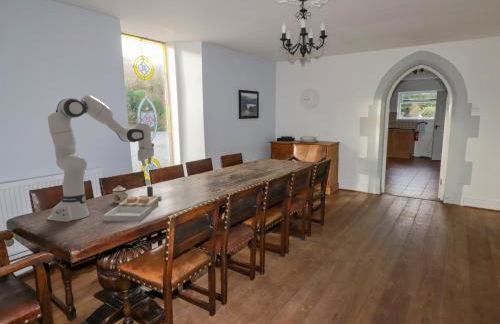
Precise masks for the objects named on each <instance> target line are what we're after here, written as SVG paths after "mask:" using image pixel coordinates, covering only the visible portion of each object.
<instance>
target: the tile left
mask: <svg viewBox="0 0 500 324" xmlns="http://www.w3.org/2000/svg"><path fill="white" fill-rule="evenodd" d="M129 197H130V198H129ZM129 197H127V202H136V201H137V200H138V199H137V197H138V196H129Z"/></svg>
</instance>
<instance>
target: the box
mask: <svg viewBox="0 0 500 324" xmlns="http://www.w3.org/2000/svg"><path fill="white" fill-rule="evenodd" d="M151 213H152V210H151V207H122V206H119V205H118V206H116V207H114V208H113V209H111V210H109V211H108V212H106V213H104V214H103V215H102V218H103V219H102V220H103V222H141V221H143V220H144V219H145V218H146V217H147V216H148V215H149V214H151Z"/></svg>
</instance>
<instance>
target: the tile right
mask: <svg viewBox="0 0 500 324" xmlns="http://www.w3.org/2000/svg"><path fill="white" fill-rule="evenodd" d="M148 201H149V197H142V198H140V199H139V202H148Z"/></svg>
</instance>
